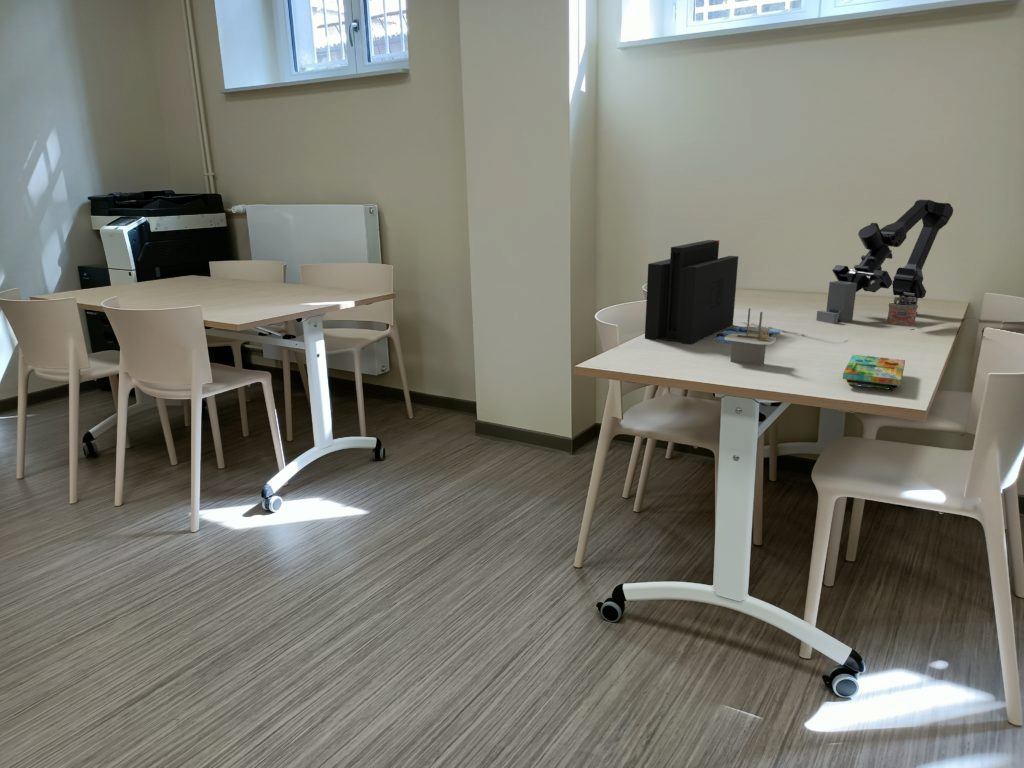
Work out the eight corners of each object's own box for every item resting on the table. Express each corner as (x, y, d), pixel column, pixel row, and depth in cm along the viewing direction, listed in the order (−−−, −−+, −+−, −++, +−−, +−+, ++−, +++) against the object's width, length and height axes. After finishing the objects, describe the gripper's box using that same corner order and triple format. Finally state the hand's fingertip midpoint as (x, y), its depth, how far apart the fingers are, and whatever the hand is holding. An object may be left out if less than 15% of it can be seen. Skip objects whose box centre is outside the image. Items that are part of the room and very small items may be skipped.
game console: (690, 320, 250) (696, 238, 242) (783, 330, 233) (792, 243, 226) (644, 338, 222) (649, 246, 215) (745, 352, 205) (754, 253, 198)
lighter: (885, 327, 237) (889, 296, 234) (886, 326, 239) (890, 294, 237) (914, 330, 233) (919, 298, 230) (914, 328, 236) (919, 296, 233)
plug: (835, 317, 246) (840, 280, 242) (852, 320, 240) (856, 283, 237) (825, 319, 243) (829, 281, 240) (841, 322, 238) (846, 284, 235)
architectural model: (712, 350, 209) (715, 300, 205) (806, 361, 197) (812, 308, 193) (687, 366, 192) (691, 312, 188) (789, 380, 179) (795, 321, 175)
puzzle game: (905, 356, 181) (901, 376, 164) (902, 375, 183) (898, 396, 166) (852, 351, 187) (843, 369, 170) (850, 369, 188) (841, 389, 171)
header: (833, 318, 245) (834, 308, 244) (850, 321, 240) (851, 311, 239) (816, 320, 241) (817, 311, 241) (833, 324, 236) (834, 314, 235)
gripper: (909, 279, 240) (882, 316, 238) (857, 273, 256) (832, 307, 253) (897, 255, 234) (869, 293, 232) (845, 250, 250) (819, 286, 247)
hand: (847, 296), depth 241 cm, fingers closed
